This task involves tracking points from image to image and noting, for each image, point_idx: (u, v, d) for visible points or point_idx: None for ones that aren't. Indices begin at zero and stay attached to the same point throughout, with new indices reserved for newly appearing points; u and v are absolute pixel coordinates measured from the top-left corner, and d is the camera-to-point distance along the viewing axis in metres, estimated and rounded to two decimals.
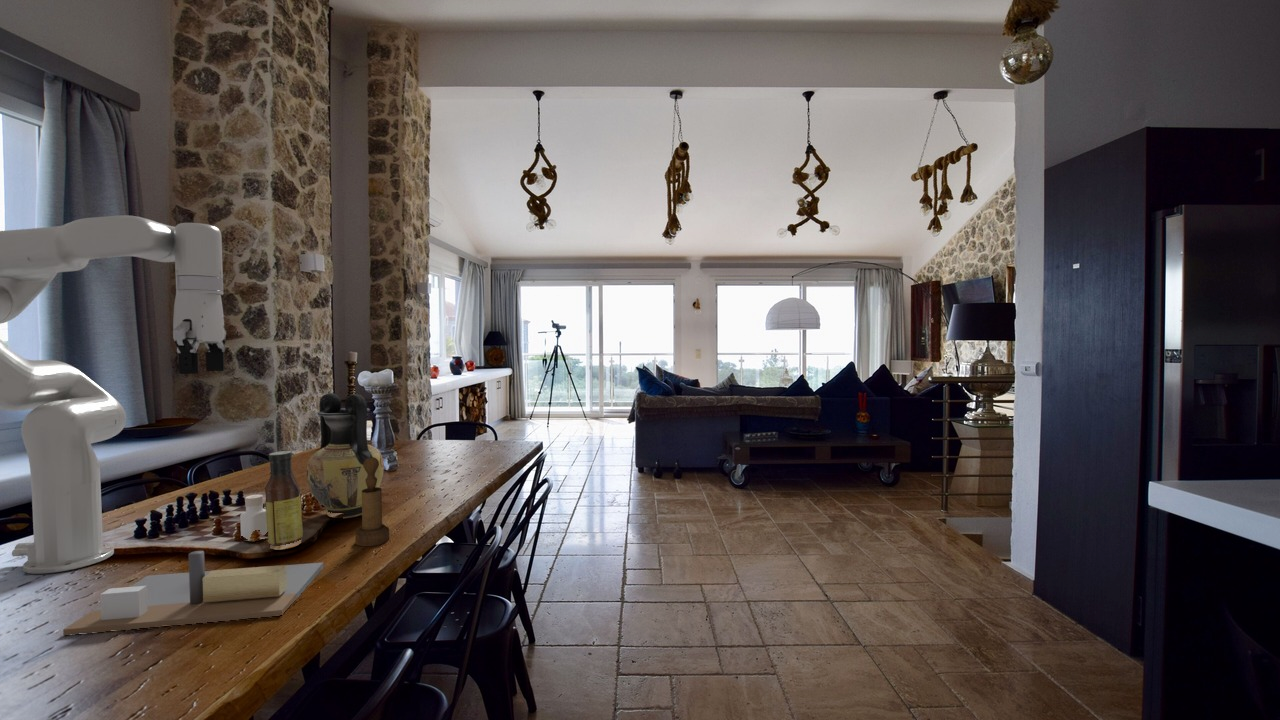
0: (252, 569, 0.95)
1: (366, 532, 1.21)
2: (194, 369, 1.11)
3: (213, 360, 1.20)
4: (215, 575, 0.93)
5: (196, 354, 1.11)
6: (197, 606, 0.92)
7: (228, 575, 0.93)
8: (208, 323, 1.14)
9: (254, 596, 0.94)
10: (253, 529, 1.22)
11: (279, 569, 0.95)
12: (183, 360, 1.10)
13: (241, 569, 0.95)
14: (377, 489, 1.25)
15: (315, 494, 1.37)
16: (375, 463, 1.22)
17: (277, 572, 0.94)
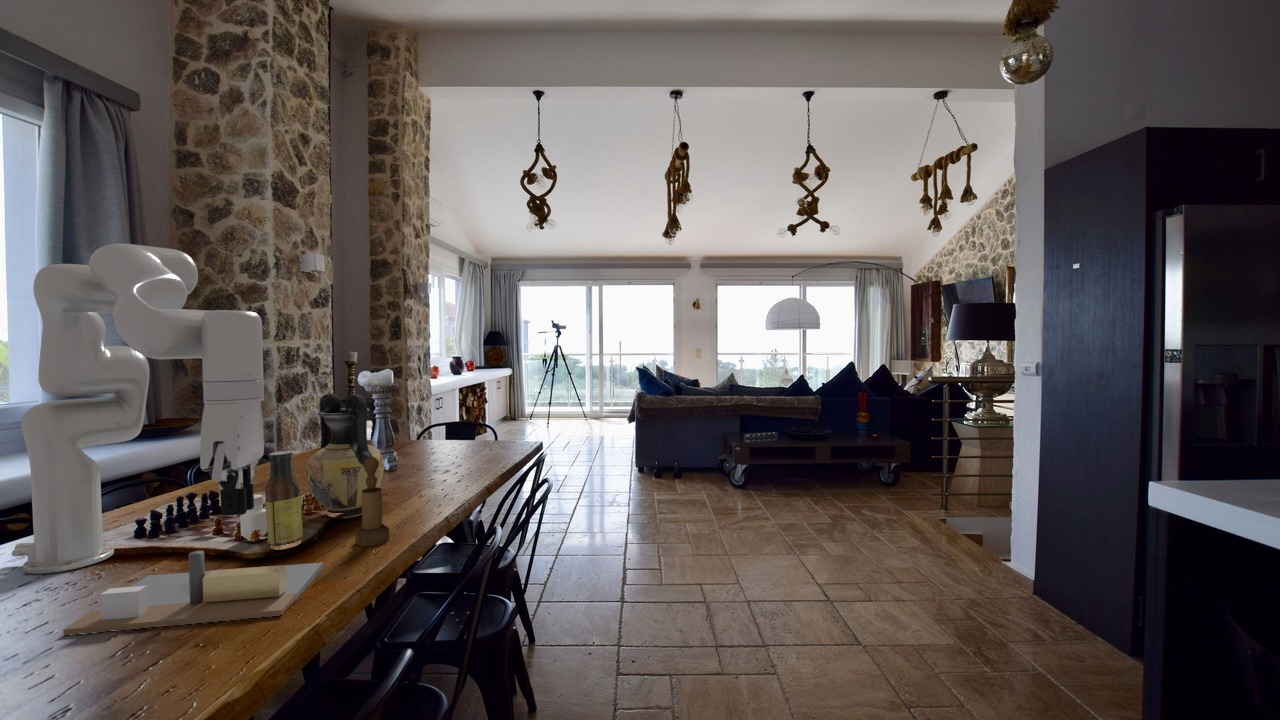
0: (252, 569, 0.95)
1: (366, 532, 1.21)
2: (240, 509, 0.87)
3: None
4: (215, 575, 0.93)
5: (243, 490, 0.87)
6: (197, 606, 0.92)
7: (228, 575, 0.93)
8: (245, 442, 0.86)
9: (254, 596, 0.94)
10: (253, 529, 1.22)
11: (279, 569, 0.95)
12: (227, 499, 0.86)
13: (241, 569, 0.95)
14: (377, 489, 1.25)
15: (315, 494, 1.37)
16: (375, 463, 1.22)
17: (277, 572, 0.94)
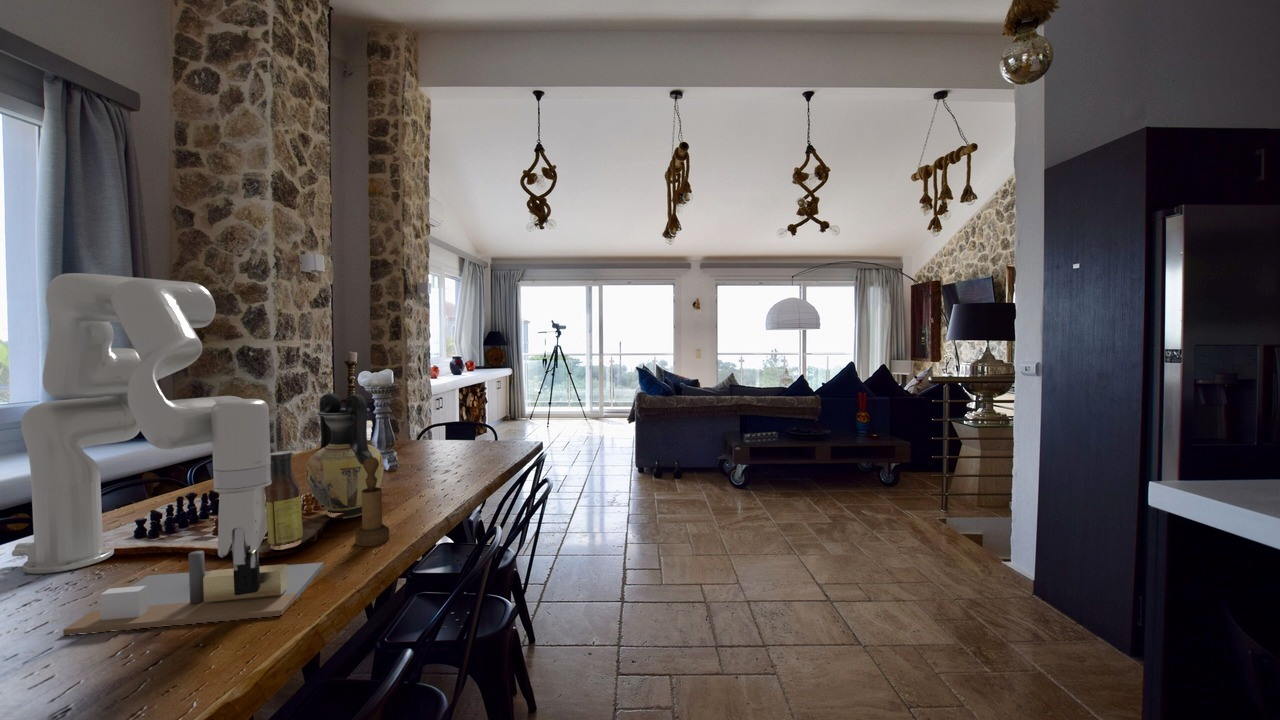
0: None
1: (366, 532, 1.21)
2: (254, 587, 0.91)
3: None
4: (216, 575, 0.93)
5: (256, 568, 0.92)
6: (197, 606, 0.92)
7: (229, 575, 0.93)
8: (259, 525, 0.90)
9: (255, 595, 0.94)
10: None
11: (280, 568, 0.96)
12: (241, 579, 0.90)
13: None
14: (377, 489, 1.25)
15: (315, 494, 1.37)
16: (375, 463, 1.22)
17: (278, 571, 0.95)
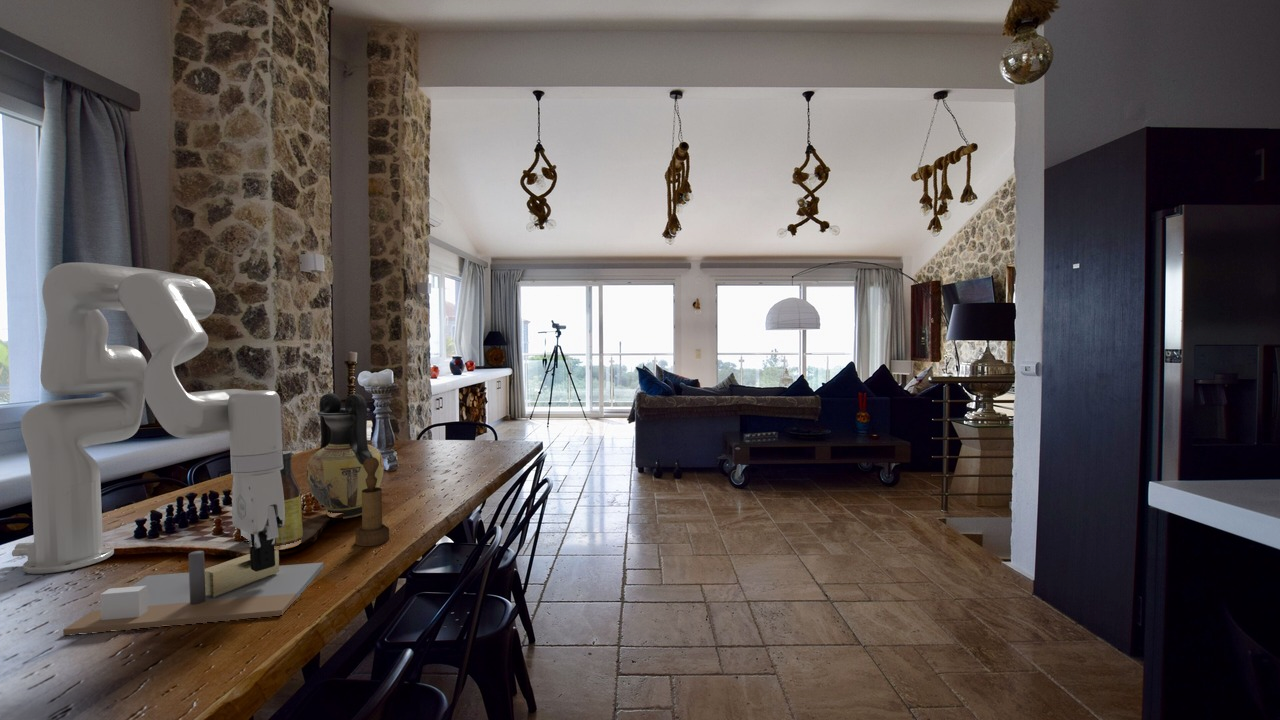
0: (244, 557, 1.00)
1: (366, 532, 1.21)
2: (271, 562, 1.00)
3: None
4: (222, 568, 0.96)
5: (273, 545, 1.00)
6: (197, 606, 0.92)
7: (234, 564, 0.97)
8: None
9: (258, 578, 1.01)
10: None
11: None
12: (263, 555, 0.98)
13: (233, 560, 0.99)
14: (377, 489, 1.25)
15: (315, 494, 1.37)
16: (375, 463, 1.22)
17: (277, 550, 1.04)
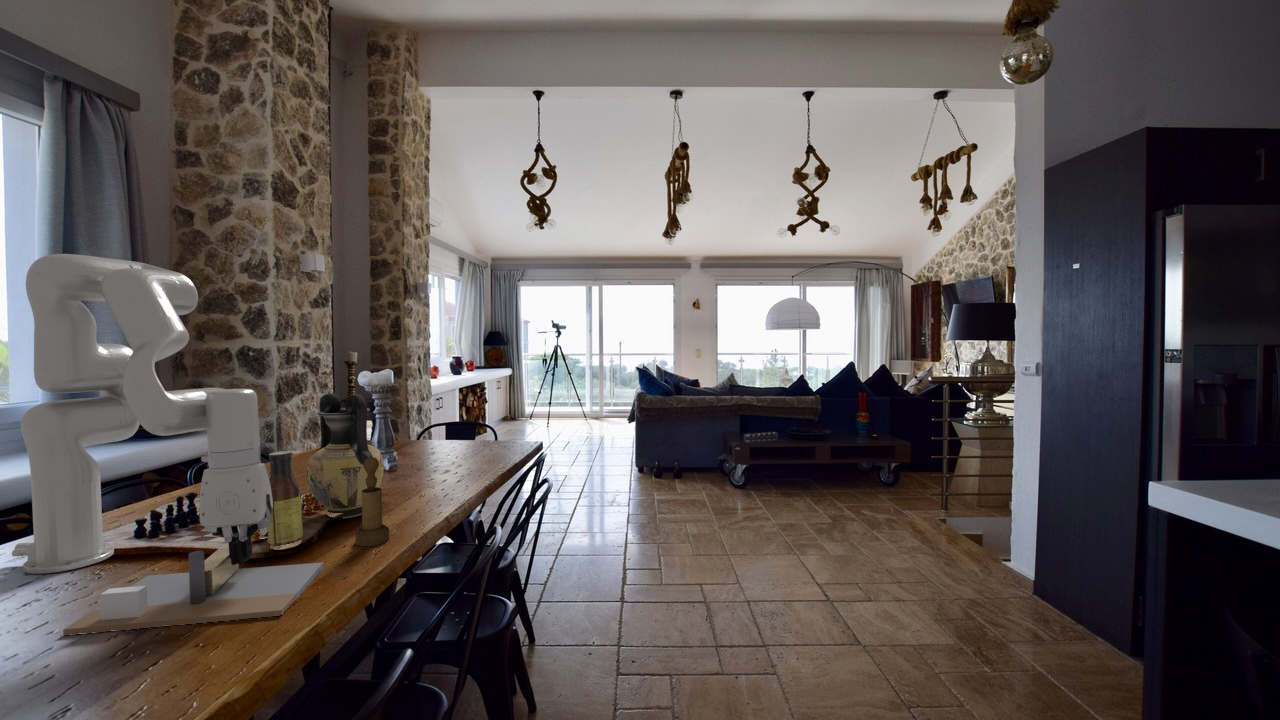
0: (214, 557, 1.00)
1: (366, 532, 1.21)
2: None
3: None
4: (213, 566, 0.96)
5: None
6: (197, 606, 0.92)
7: (219, 562, 0.98)
8: None
9: (230, 574, 1.02)
10: None
11: None
12: (247, 547, 1.02)
13: (208, 561, 0.99)
14: (377, 489, 1.25)
15: (315, 494, 1.37)
16: (375, 463, 1.22)
17: None
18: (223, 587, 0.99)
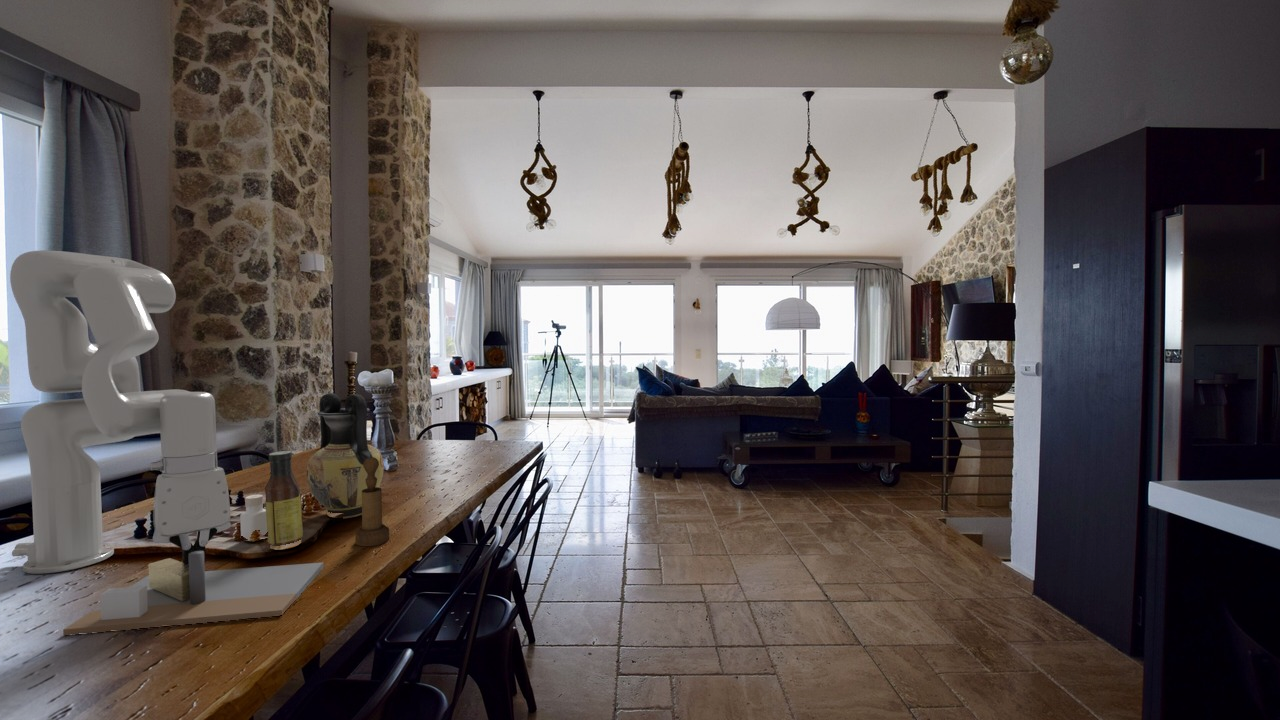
0: (169, 567, 0.96)
1: (366, 532, 1.21)
2: None
3: None
4: None
5: None
6: (197, 606, 0.92)
7: None
8: None
9: None
10: (253, 529, 1.22)
11: (162, 560, 0.99)
12: None
13: (172, 569, 0.95)
14: (377, 489, 1.25)
15: (315, 494, 1.37)
16: (375, 463, 1.22)
17: (169, 558, 1.00)
18: (223, 587, 0.99)
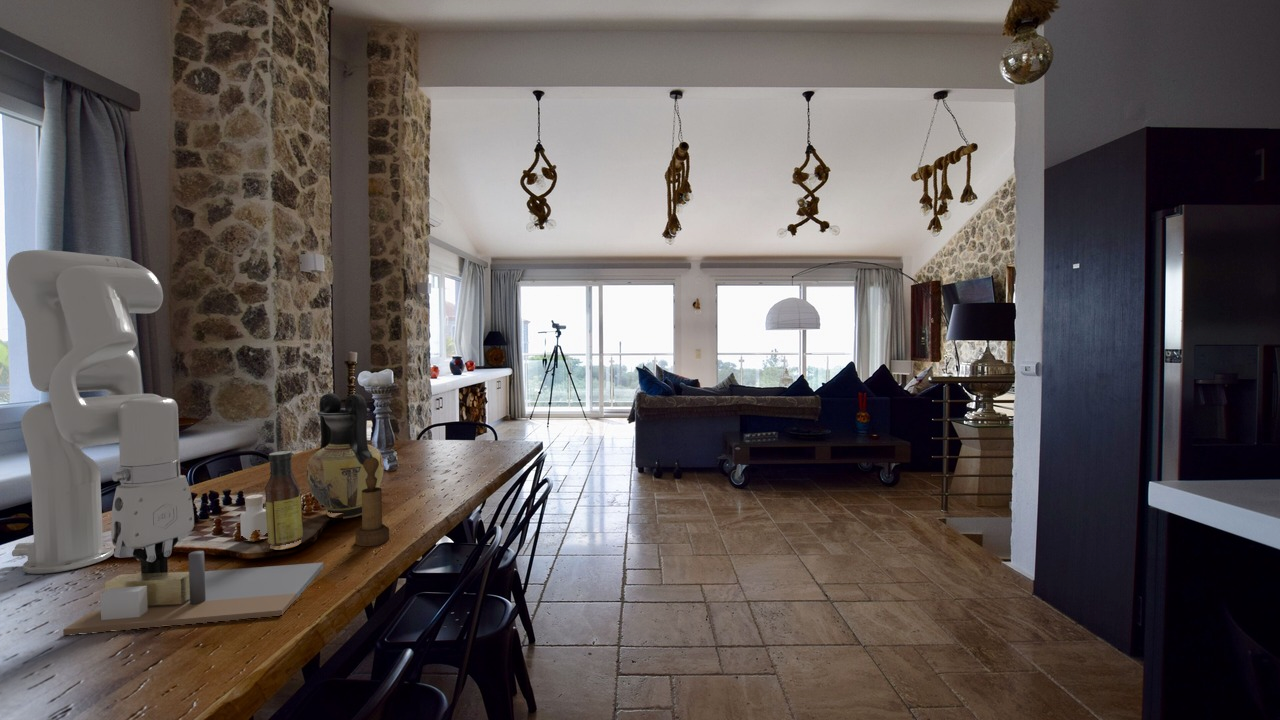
0: (142, 578, 0.92)
1: (366, 532, 1.21)
2: None
3: None
4: (180, 572, 0.94)
5: None
6: (197, 606, 0.92)
7: (168, 573, 0.94)
8: None
9: None
10: (253, 529, 1.22)
11: (116, 577, 0.92)
12: None
13: (152, 578, 0.92)
14: (377, 489, 1.25)
15: (315, 494, 1.37)
16: (375, 463, 1.22)
17: (121, 575, 0.93)
18: (223, 587, 0.99)
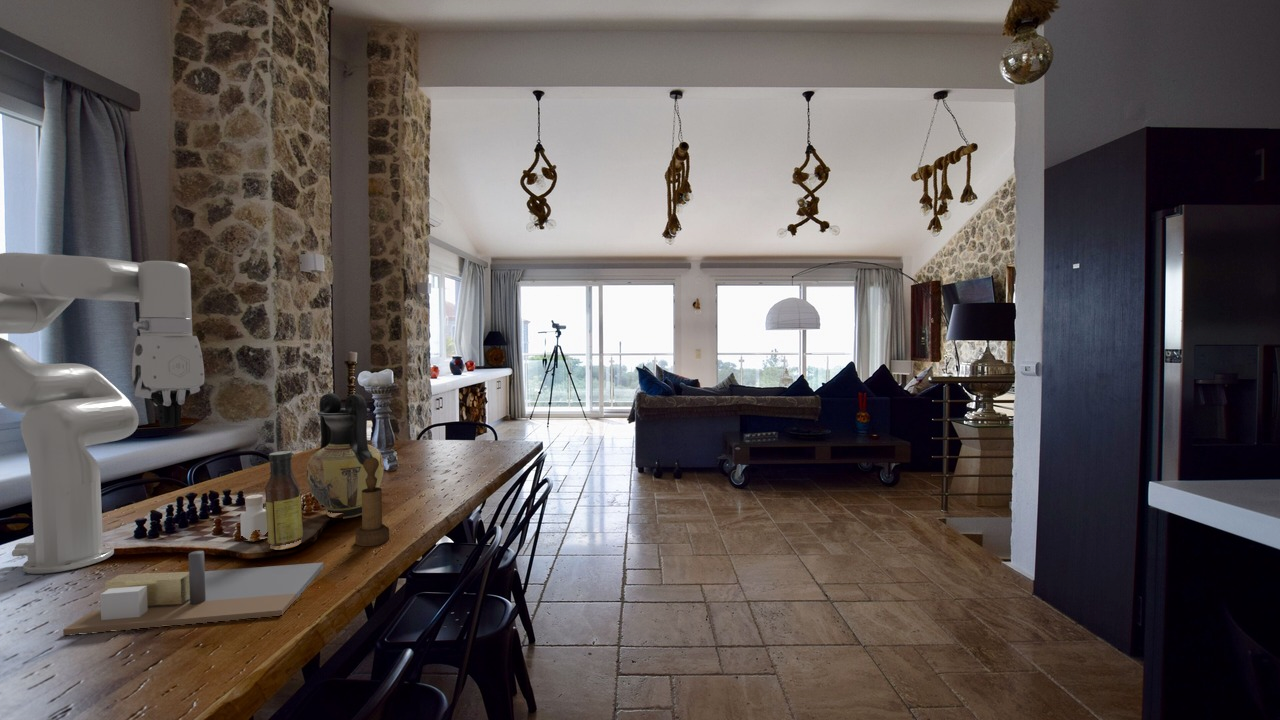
0: (142, 578, 0.92)
1: (366, 532, 1.21)
2: None
3: None
4: (180, 572, 0.94)
5: None
6: (197, 606, 0.92)
7: (168, 573, 0.94)
8: None
9: None
10: (253, 529, 1.22)
11: (116, 577, 0.92)
12: None
13: (152, 578, 0.92)
14: (377, 489, 1.25)
15: (315, 494, 1.37)
16: (375, 463, 1.22)
17: (121, 575, 0.93)
18: (223, 587, 0.99)
